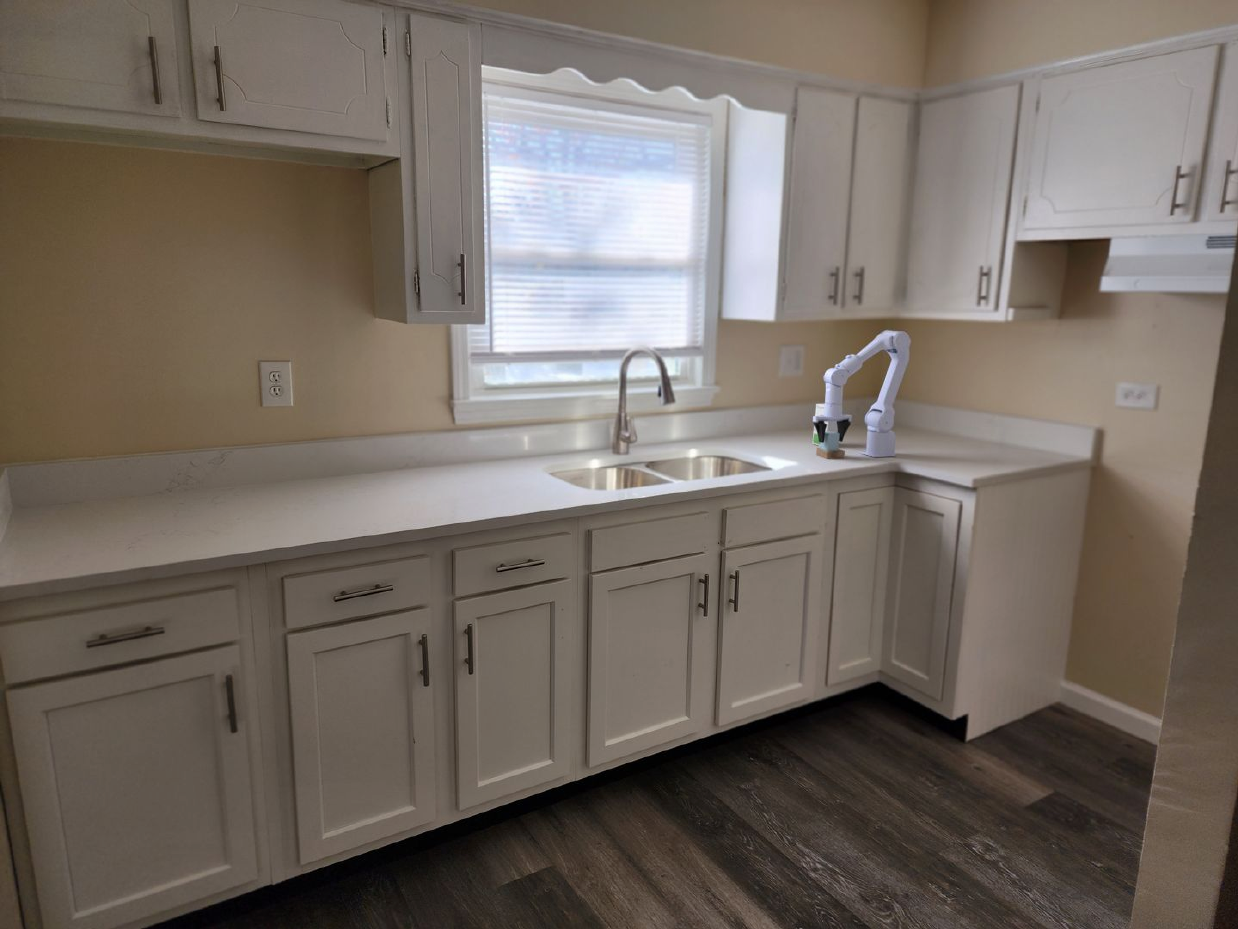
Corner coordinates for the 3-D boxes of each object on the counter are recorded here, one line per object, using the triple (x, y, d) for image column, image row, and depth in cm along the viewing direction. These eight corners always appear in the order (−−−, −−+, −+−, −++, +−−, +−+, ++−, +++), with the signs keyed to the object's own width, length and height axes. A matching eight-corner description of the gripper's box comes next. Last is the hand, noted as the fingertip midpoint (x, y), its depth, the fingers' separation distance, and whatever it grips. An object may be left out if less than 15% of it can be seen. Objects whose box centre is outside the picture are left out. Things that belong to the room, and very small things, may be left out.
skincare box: (811, 444, 310) (814, 403, 307) (825, 443, 313) (828, 402, 310) (826, 448, 303) (829, 406, 300) (840, 447, 306) (843, 405, 302)
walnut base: (833, 455, 291) (834, 447, 291) (844, 459, 285) (844, 450, 284) (816, 456, 289) (816, 448, 289) (826, 460, 283) (827, 451, 282)
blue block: (831, 447, 289) (832, 431, 288) (838, 450, 285) (839, 433, 284) (820, 448, 288) (821, 431, 286) (827, 451, 283) (828, 434, 282)
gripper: (844, 401, 288) (841, 438, 291) (809, 402, 284) (806, 440, 286) (856, 403, 282) (853, 442, 285) (820, 404, 277) (817, 444, 280)
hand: (830, 441), depth 285 cm, fingers open, 7 cm apart
